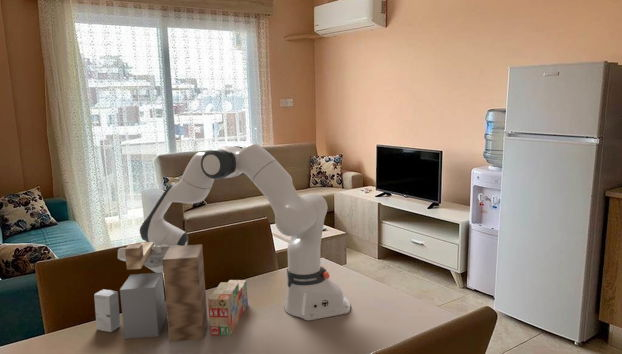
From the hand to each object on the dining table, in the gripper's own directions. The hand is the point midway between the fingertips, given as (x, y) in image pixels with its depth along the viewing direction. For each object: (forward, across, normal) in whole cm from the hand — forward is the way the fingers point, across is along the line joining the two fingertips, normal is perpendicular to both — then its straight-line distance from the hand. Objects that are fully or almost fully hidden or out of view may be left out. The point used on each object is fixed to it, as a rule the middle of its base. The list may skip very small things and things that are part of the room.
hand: (144, 248), depth 145 cm
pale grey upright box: (-6, 0, +24) cm, 25 cm away
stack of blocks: (-8, +27, +24) cm, 37 cm away
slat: (+3, 0, +4) cm, 5 cm away
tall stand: (-3, +14, +26) cm, 30 cm away
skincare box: (-8, -12, +24) cm, 28 cm away
